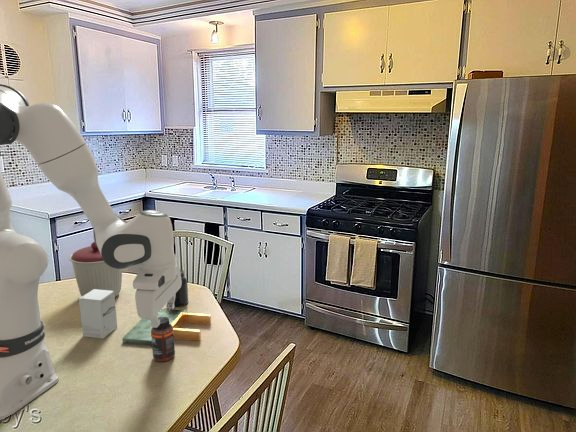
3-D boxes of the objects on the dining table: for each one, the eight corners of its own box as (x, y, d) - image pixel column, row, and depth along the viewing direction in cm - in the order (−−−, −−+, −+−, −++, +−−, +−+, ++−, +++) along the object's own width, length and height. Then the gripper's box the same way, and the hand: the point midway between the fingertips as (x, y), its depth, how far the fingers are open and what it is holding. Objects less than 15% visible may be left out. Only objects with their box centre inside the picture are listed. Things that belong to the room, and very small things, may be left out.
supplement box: (104, 339, 126) (99, 300, 123) (82, 336, 128) (77, 298, 125) (118, 327, 133) (114, 290, 130) (97, 324, 135) (93, 288, 132)
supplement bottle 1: (178, 351, 120) (176, 315, 118) (170, 363, 114) (168, 325, 112) (158, 350, 121) (155, 314, 118) (149, 362, 115) (146, 324, 112)
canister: (62, 303, 149) (55, 246, 144) (98, 284, 166) (93, 232, 161) (105, 310, 144) (99, 252, 139) (137, 289, 161) (133, 237, 156)
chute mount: (194, 348, 122) (194, 339, 121) (122, 342, 124) (121, 333, 124) (215, 316, 141) (214, 308, 140) (152, 311, 144) (152, 303, 143)
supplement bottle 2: (178, 297, 155) (176, 266, 152) (192, 301, 152) (190, 270, 149) (164, 304, 149) (162, 272, 146) (178, 309, 146) (176, 276, 143)
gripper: (164, 255, 122) (168, 299, 125) (128, 285, 102) (134, 336, 106) (185, 256, 121) (188, 300, 124) (153, 287, 101) (158, 338, 105)
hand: (163, 317), depth 115 cm, fingers open, 8 cm apart
